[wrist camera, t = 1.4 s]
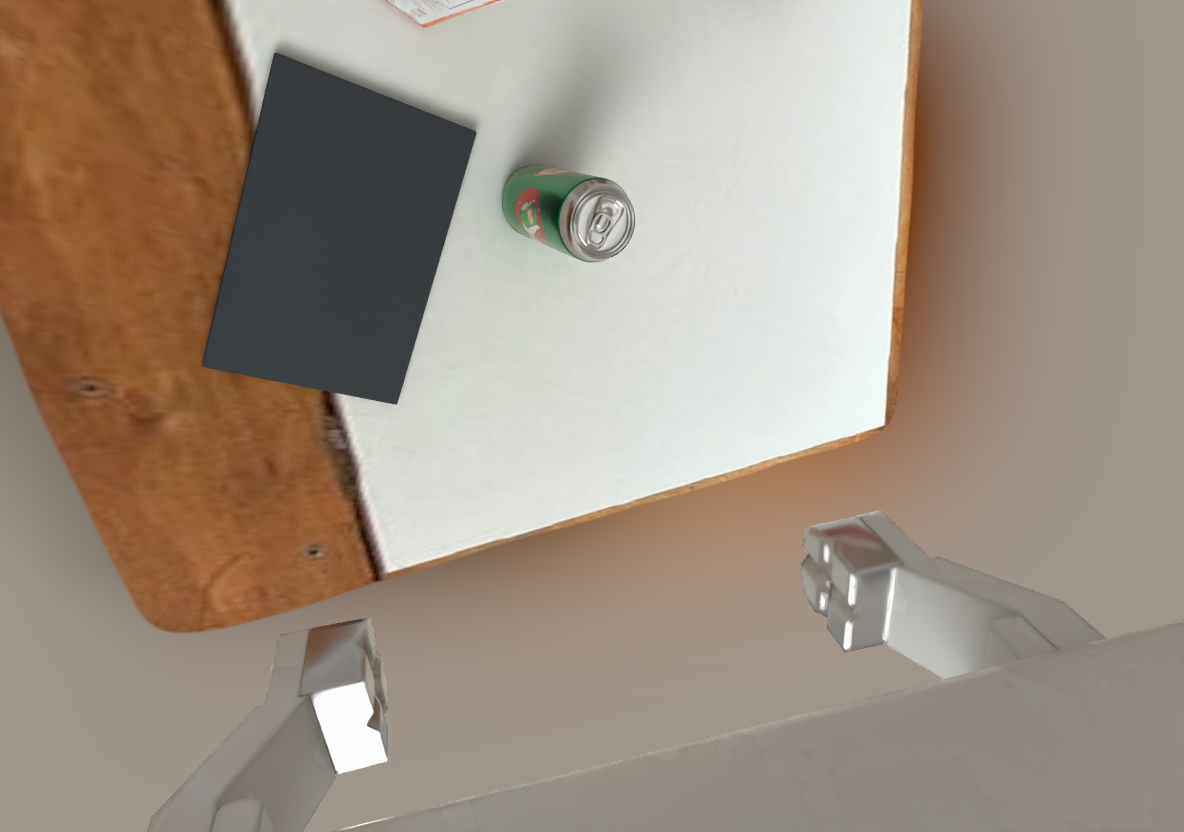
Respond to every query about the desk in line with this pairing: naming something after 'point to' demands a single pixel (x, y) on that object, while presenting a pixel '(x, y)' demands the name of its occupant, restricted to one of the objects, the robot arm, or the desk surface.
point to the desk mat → (335, 236)
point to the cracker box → (439, 9)
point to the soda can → (569, 211)
